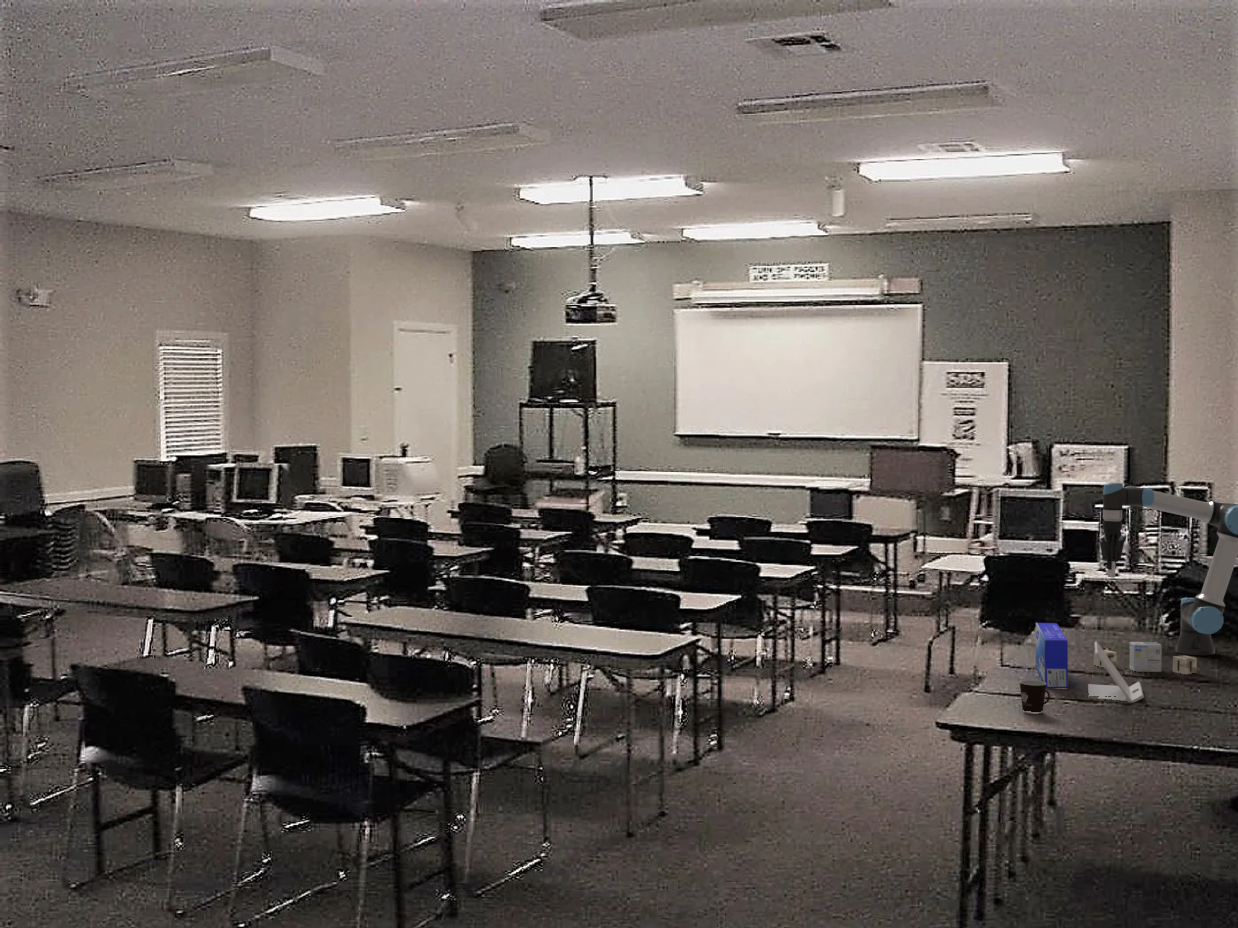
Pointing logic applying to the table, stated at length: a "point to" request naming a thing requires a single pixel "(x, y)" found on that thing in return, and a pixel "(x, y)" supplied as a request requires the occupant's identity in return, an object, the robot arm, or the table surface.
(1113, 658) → the birch block seven
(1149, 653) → the light bulb box
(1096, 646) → the tablet stand
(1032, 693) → the coffee mug
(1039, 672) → the toner cartridge box
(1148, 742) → the table surface
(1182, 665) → the birch block one
